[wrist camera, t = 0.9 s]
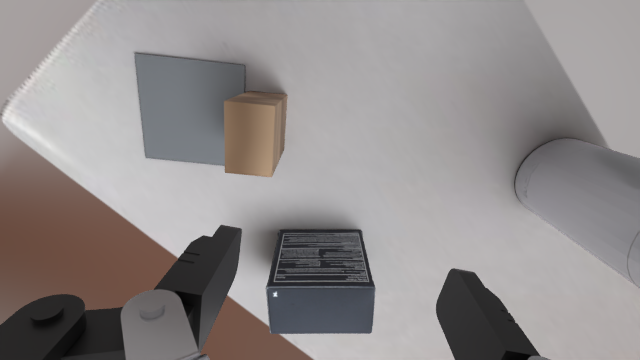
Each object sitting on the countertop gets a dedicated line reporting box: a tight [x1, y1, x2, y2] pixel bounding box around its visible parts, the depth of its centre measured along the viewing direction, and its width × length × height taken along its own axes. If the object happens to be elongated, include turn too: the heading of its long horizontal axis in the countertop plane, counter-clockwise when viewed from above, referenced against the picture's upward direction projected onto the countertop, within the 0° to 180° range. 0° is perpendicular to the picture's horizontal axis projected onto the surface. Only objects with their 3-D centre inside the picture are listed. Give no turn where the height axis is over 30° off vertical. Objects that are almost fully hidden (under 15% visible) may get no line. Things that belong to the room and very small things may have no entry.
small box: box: [266, 230, 375, 334], centre depth 34 cm, size 11×6×10 cm, turn 90°
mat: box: [134, 53, 245, 166], centre depth 33 cm, size 11×11×1 cm
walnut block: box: [224, 91, 287, 177], centre depth 29 cm, size 4×6×9 cm, turn 174°
